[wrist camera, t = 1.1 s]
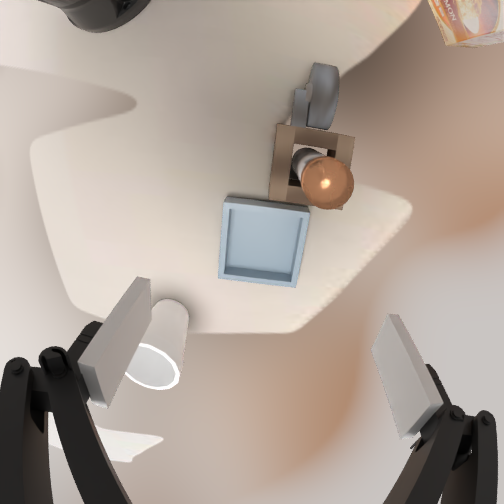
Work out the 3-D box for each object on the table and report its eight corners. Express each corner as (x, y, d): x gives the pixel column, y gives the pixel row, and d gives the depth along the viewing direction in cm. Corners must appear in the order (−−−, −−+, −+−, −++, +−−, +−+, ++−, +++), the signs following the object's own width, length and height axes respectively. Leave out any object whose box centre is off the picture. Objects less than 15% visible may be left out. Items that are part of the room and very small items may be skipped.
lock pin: (292, 143, 37) (307, 154, 23) (325, 149, 37) (358, 163, 23) (288, 176, 39) (299, 205, 25) (320, 180, 39) (348, 212, 25)
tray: (226, 196, 40) (223, 202, 37) (307, 206, 40) (310, 212, 37) (221, 268, 45) (217, 278, 42) (294, 277, 45) (295, 287, 42)
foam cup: (197, 294, 47) (177, 349, 35) (199, 338, 51) (182, 394, 39) (142, 287, 47) (110, 336, 35) (148, 331, 51) (123, 382, 39)
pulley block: (284, 65, 32) (288, 50, 25) (352, 78, 32) (371, 68, 25) (268, 190, 39) (268, 206, 32) (333, 199, 39) (348, 217, 32)
